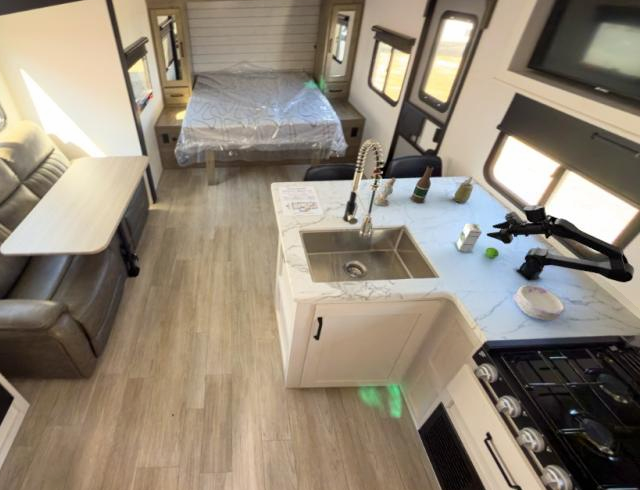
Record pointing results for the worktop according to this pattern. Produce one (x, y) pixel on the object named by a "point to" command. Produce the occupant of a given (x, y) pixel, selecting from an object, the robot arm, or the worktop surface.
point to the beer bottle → (422, 186)
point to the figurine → (385, 192)
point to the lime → (492, 252)
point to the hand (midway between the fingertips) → (489, 230)
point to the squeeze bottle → (464, 191)
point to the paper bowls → (539, 302)
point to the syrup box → (468, 237)
